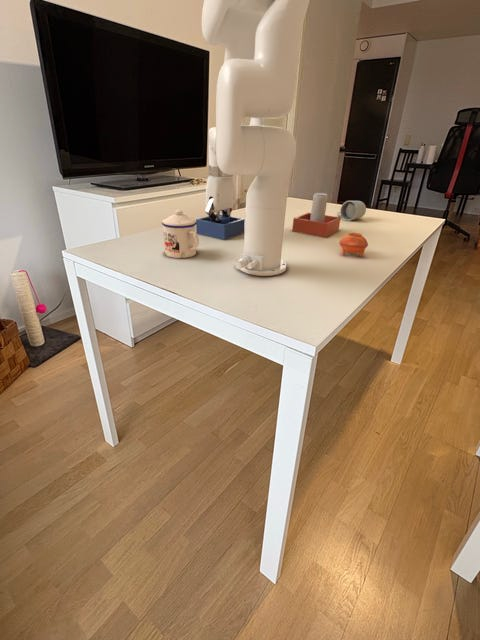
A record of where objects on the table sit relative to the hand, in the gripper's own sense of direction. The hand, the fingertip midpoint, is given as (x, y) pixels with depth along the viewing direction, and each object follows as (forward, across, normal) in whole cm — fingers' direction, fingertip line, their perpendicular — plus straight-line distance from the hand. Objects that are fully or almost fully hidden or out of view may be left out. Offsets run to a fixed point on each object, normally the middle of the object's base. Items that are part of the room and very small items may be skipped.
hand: (220, 230), depth 115 cm
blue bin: (+1, 0, 0) cm, 1 cm away
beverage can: (+1, -25, +24) cm, 35 cm away
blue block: (0, 0, 0) cm, 0 cm away
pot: (+1, -6, +43) cm, 44 cm away
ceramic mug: (+1, -53, +27) cm, 59 cm away
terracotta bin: (+1, -25, +24) cm, 35 cm away
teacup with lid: (+1, +25, +6) cm, 26 cm away
